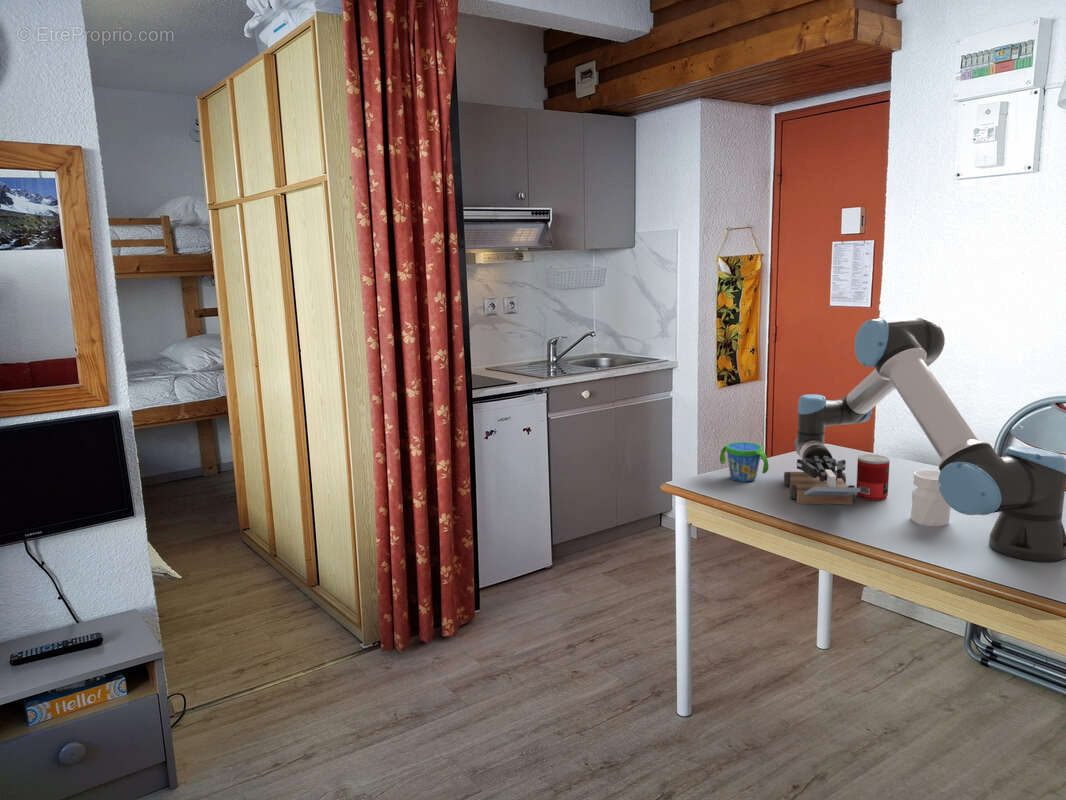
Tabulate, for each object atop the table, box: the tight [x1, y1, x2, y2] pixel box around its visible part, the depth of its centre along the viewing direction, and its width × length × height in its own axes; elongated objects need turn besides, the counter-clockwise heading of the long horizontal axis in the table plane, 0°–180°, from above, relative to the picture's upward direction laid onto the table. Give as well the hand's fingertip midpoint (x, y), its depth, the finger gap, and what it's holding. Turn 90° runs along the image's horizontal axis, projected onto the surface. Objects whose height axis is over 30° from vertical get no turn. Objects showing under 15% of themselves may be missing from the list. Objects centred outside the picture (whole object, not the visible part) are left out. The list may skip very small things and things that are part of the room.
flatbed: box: [783, 471, 857, 505], centre depth 221 cm, size 20×16×4 cm
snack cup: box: [719, 441, 769, 483], centre depth 235 cm, size 16×10×10 cm
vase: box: [910, 469, 952, 527], centre depth 196 cm, size 9×9×12 cm
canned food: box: [856, 453, 891, 502], centre depth 216 cm, size 8×8×11 cm
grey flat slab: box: [804, 487, 860, 496], centre depth 203 cm, size 1×11×14 cm
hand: (832, 481), depth 199 cm, fingers closed
